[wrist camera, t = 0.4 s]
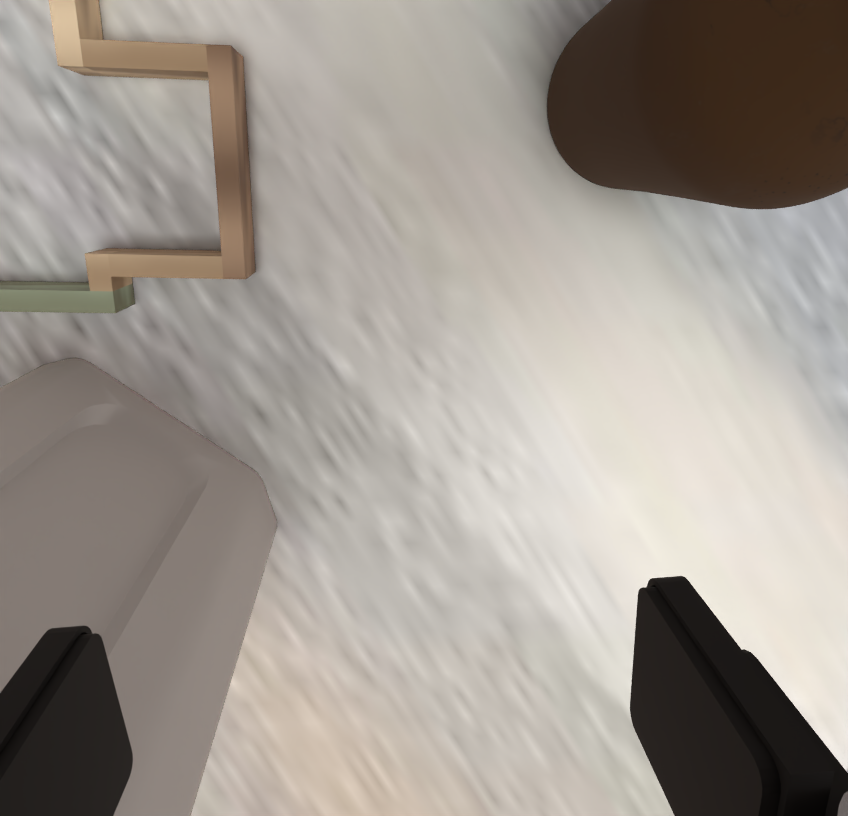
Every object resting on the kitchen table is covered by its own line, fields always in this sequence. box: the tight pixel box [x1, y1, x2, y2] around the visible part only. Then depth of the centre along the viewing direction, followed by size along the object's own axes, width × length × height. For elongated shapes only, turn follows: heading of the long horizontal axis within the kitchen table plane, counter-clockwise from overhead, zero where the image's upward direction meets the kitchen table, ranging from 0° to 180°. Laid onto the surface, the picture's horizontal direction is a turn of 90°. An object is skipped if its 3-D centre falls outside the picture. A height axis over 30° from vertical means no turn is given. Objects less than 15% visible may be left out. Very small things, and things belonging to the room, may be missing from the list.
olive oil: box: [547, 0, 848, 209], centre depth 25 cm, size 11×11×25 cm
